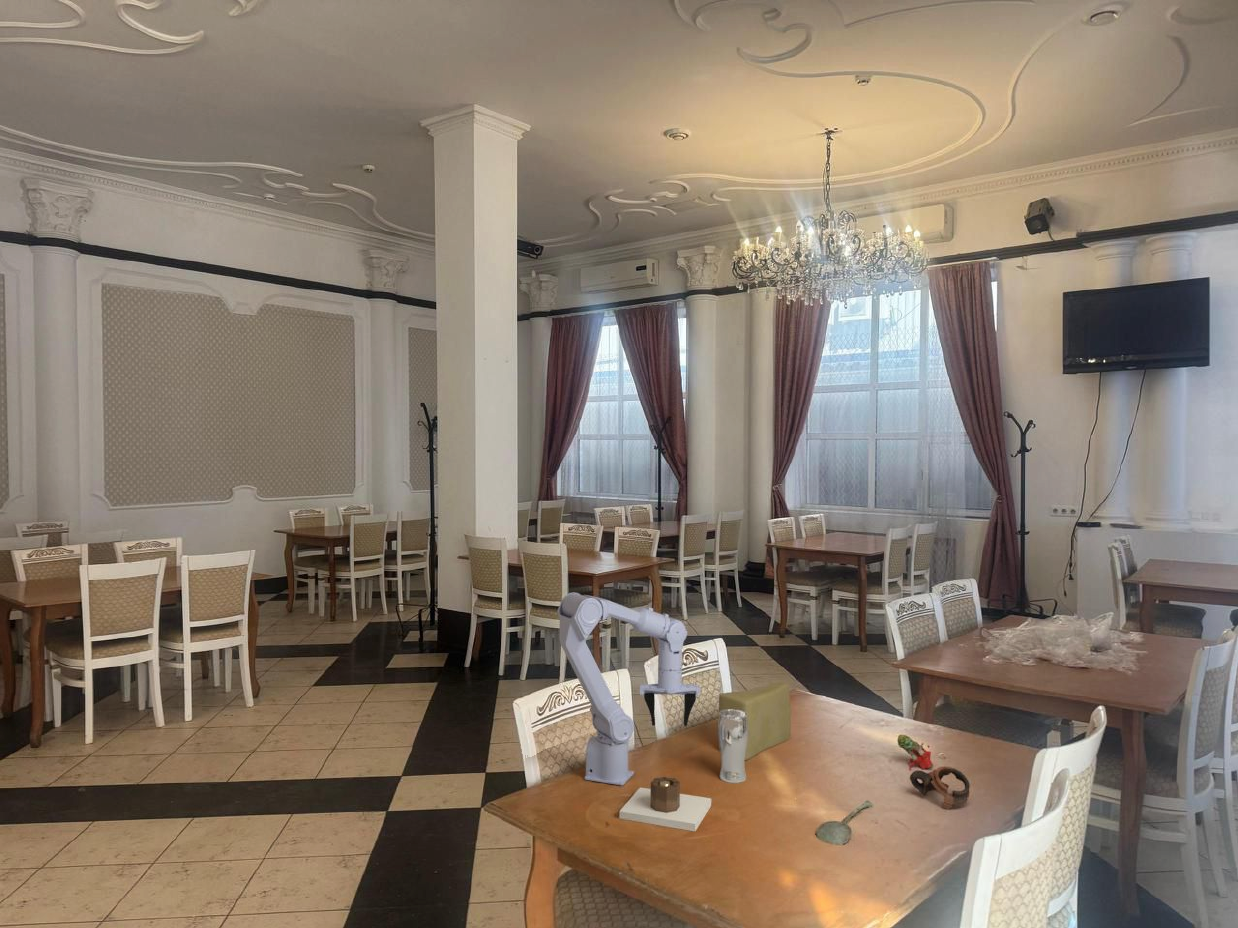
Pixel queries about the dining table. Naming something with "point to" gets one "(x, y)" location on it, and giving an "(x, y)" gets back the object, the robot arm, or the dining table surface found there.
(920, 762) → the figurine
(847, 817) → the soupspoon
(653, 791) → the walnut bead
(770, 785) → the dining table surface
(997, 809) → the dining table surface
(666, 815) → the white rectangular board
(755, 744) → the cheese
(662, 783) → the brass rod
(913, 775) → the brown looped clamp
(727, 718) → the beer glass
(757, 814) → the dining table surface
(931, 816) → the dining table surface
